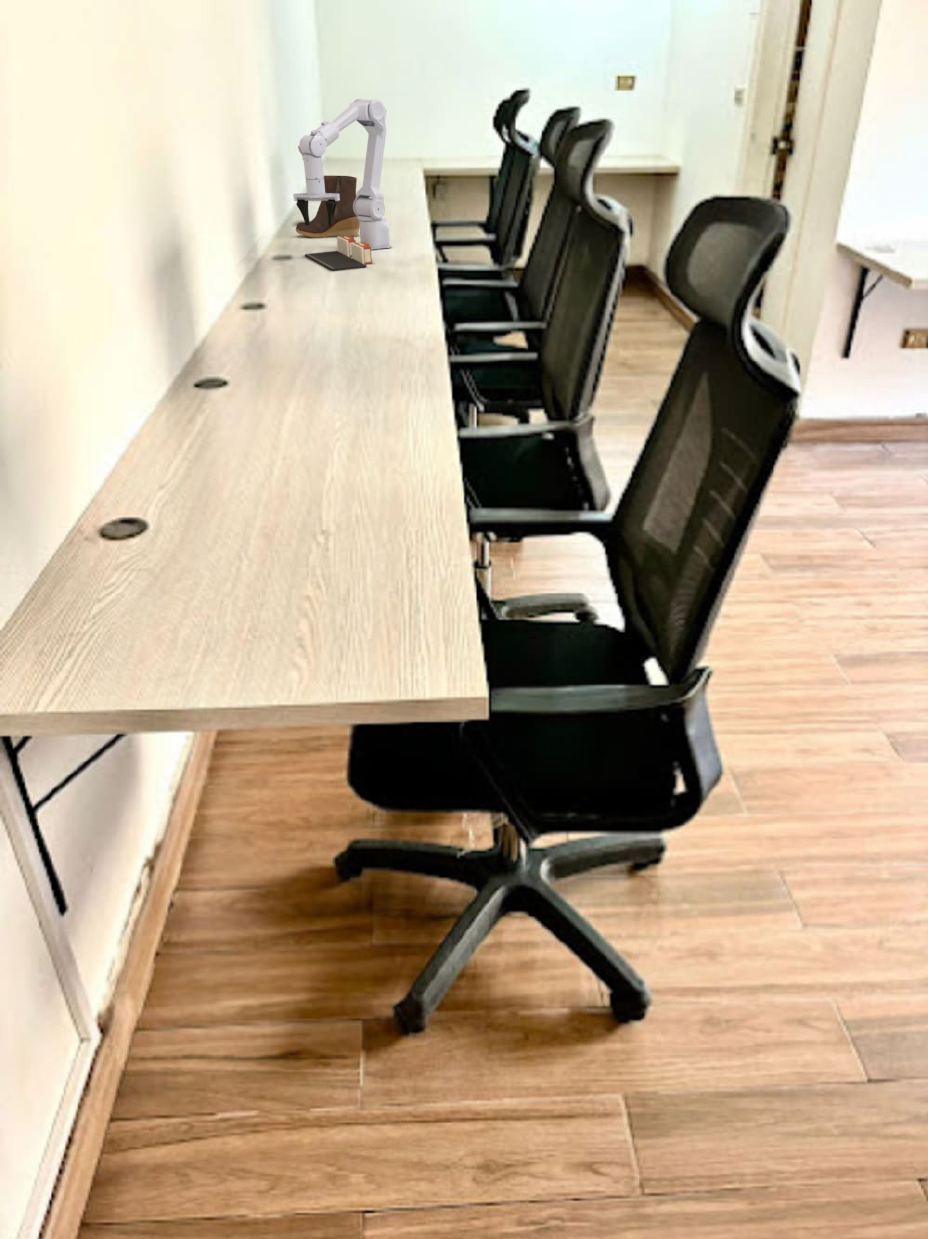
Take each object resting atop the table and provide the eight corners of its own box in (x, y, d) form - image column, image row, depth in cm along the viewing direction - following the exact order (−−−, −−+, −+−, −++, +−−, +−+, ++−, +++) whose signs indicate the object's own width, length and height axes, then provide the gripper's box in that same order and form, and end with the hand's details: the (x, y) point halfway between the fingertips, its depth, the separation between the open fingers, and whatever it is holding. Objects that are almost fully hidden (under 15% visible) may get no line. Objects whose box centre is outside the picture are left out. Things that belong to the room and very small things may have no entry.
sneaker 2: (364, 258, 305) (363, 241, 302) (375, 263, 298) (373, 246, 295) (352, 259, 303) (350, 243, 301) (362, 264, 296) (361, 247, 293)
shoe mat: (337, 252, 314) (336, 250, 314) (366, 267, 293) (366, 265, 292) (305, 256, 311) (304, 253, 310) (332, 271, 289) (332, 268, 288)
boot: (299, 234, 347) (293, 173, 337) (364, 233, 345) (360, 173, 334) (293, 238, 340) (287, 176, 329) (360, 238, 337) (355, 176, 327)
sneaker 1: (350, 251, 316) (348, 235, 313) (359, 256, 308) (358, 239, 306) (338, 252, 314) (336, 236, 312) (347, 257, 307) (346, 240, 304)
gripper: (288, 180, 293) (293, 227, 300) (333, 180, 291) (337, 227, 298) (295, 177, 299) (300, 223, 306) (339, 177, 297) (343, 223, 304)
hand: (319, 225), depth 302 cm, fingers open, 7 cm apart
